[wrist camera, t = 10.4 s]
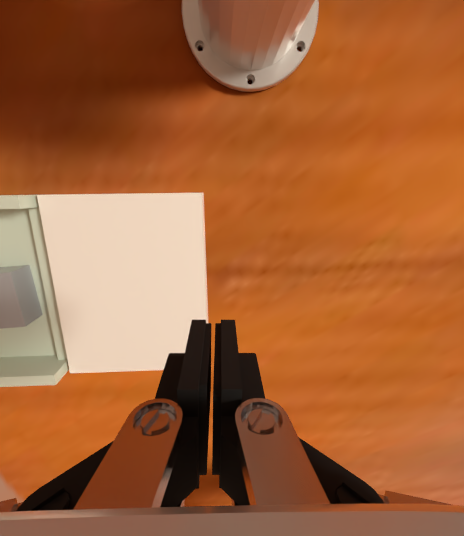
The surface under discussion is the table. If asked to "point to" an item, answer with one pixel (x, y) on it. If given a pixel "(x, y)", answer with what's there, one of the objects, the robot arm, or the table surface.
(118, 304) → the plate
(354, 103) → the table surface
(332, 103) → the table surface
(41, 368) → the box
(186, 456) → the robot arm
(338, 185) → the table surface
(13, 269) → the grey square block
